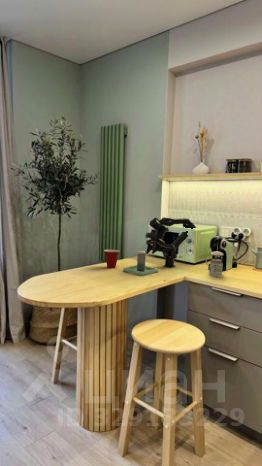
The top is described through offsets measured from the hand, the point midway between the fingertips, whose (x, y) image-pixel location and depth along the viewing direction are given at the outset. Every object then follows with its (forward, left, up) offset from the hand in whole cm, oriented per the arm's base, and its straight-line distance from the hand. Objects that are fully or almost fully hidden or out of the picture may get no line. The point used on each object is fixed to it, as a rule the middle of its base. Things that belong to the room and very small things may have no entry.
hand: (149, 253), depth 214 cm
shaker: (+9, +1, -10) cm, 14 cm away
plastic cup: (+15, -20, -11) cm, 28 cm away
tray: (+9, +1, -11) cm, 14 cm away
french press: (-22, +37, -11) cm, 44 cm away
